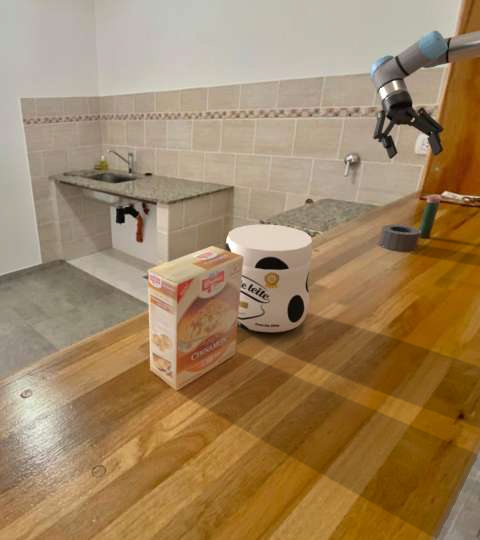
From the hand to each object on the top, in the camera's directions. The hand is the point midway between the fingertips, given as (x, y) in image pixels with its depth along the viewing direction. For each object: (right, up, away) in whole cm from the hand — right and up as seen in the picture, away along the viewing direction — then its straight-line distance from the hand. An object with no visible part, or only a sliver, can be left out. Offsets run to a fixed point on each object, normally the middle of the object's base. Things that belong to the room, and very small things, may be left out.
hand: (416, 154), depth 115 cm
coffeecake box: (-77, -52, -48) cm, 104 cm away
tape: (-10, -28, -5) cm, 30 cm away
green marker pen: (+2, -25, 0) cm, 25 cm away
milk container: (-61, -45, -36) cm, 84 cm away
